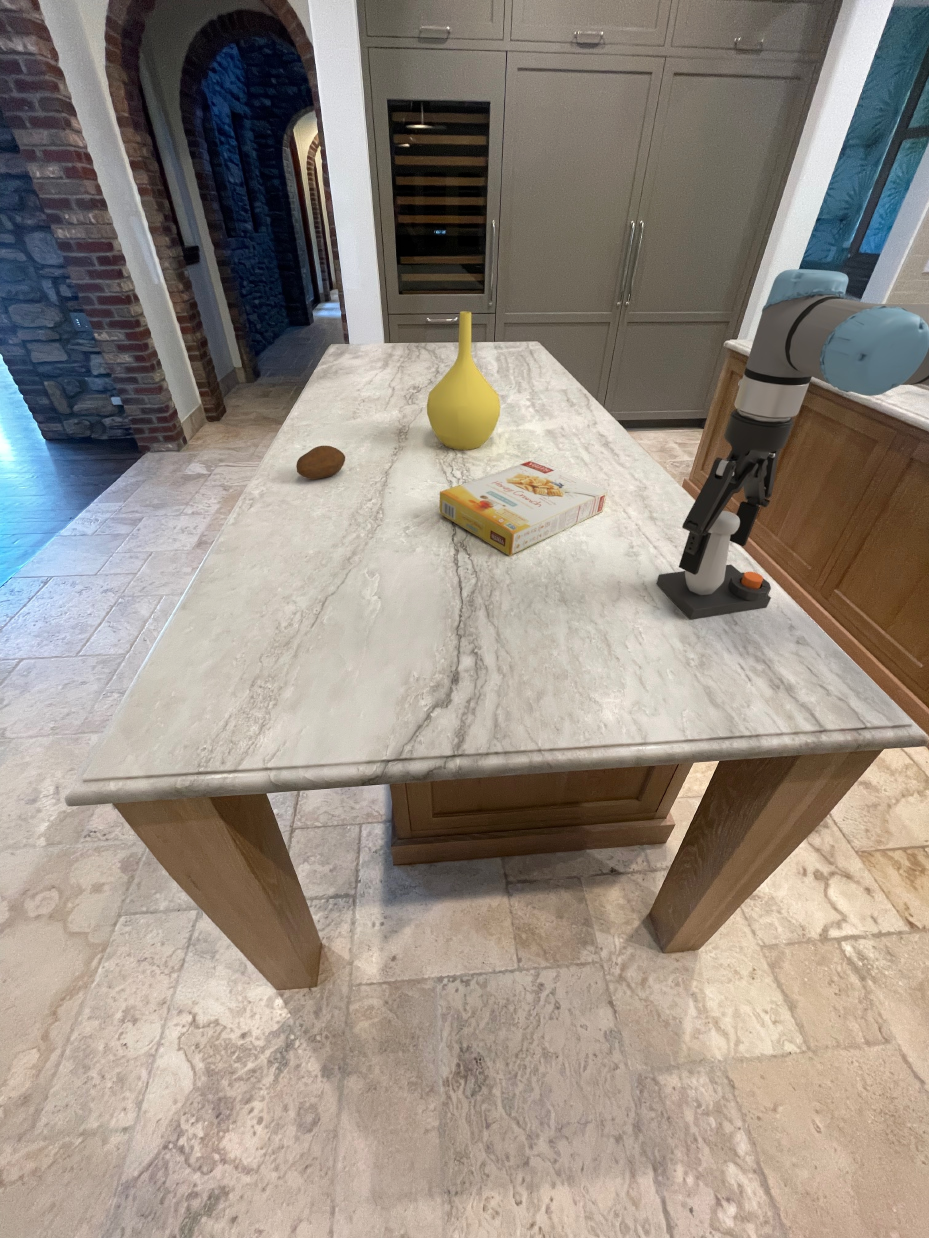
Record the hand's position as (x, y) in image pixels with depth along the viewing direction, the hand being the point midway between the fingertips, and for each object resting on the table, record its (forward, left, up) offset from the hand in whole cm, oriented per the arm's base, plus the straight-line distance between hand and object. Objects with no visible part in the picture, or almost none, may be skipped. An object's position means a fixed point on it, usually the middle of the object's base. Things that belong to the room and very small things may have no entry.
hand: (713, 556), depth 82 cm
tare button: (-5, -6, -5) cm, 9 cm away
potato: (+78, +27, -8) cm, 83 cm away
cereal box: (+38, +2, -8) cm, 39 cm away
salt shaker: (0, 0, -6) cm, 6 cm away
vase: (+76, -12, -8) cm, 78 cm away
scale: (-1, -2, -8) cm, 8 cm away
